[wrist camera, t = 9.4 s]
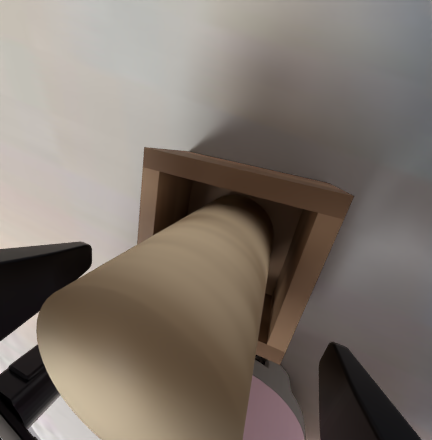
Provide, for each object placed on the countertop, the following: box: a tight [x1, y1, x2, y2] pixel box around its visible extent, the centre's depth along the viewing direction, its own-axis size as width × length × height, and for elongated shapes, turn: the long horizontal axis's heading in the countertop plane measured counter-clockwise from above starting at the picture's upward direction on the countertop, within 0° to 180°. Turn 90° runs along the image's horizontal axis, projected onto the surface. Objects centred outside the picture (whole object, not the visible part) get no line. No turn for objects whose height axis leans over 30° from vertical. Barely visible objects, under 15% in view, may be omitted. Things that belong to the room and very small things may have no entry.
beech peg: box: [36, 195, 274, 440], centre depth 9 cm, size 5×5×10 cm
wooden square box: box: [137, 147, 354, 365], centre depth 12 cm, size 9×9×5 cm
